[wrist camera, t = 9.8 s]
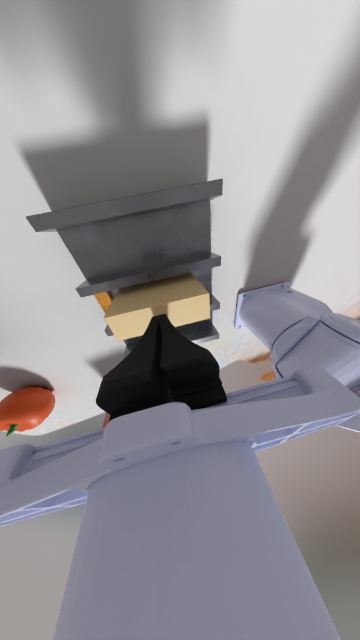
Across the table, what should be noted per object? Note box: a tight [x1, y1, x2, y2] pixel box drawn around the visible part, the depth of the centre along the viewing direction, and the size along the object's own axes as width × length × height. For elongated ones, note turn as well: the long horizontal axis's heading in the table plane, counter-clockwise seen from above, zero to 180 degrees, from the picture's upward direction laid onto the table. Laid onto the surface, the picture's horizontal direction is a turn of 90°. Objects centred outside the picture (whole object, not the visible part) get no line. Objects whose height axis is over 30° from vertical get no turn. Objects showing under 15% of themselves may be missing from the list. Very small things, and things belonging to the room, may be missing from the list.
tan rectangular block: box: [104, 273, 210, 341], centre depth 16 cm, size 10×3×7 cm, turn 99°
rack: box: [26, 179, 223, 358], centre depth 18 cm, size 16×19×4 cm
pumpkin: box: [0, 387, 55, 436], centre depth 24 cm, size 8×8×7 cm
